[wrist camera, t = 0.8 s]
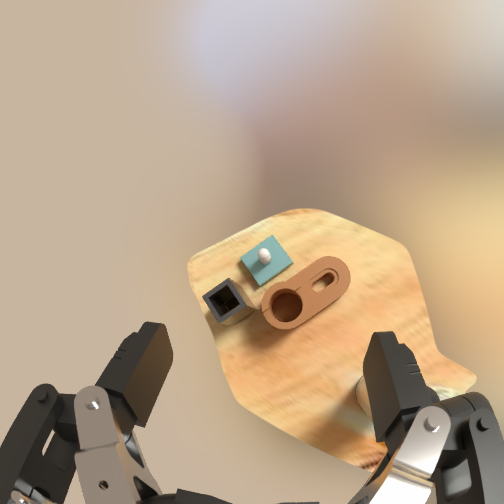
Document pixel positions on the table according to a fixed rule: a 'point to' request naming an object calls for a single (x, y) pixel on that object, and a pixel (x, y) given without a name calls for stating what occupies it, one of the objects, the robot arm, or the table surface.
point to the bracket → (308, 290)
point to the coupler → (222, 295)
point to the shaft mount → (266, 260)
